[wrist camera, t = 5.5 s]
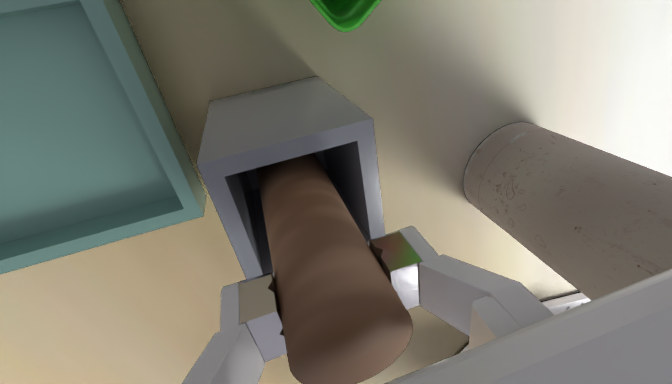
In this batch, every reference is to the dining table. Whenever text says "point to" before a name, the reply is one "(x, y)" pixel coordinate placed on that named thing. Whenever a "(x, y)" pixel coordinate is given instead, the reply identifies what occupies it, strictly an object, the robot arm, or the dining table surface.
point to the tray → (83, 134)
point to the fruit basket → (345, 12)
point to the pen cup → (286, 158)
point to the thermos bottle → (574, 206)
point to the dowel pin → (327, 279)
